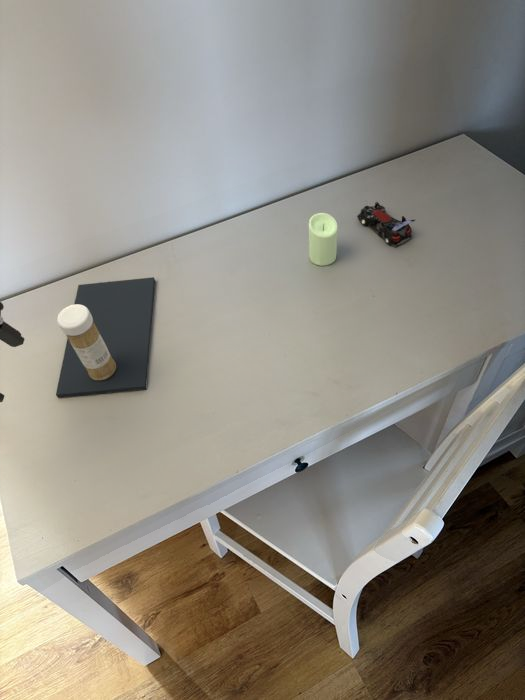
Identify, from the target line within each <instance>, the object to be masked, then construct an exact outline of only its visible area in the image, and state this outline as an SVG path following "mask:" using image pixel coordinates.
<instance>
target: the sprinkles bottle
mask: <svg viewBox="0 0 525 700" xmlns="http://www.w3.org/2000/svg"><path fill="white" fill-rule="evenodd" d="M56 321H57V325H58V327H59V328H60V330H61V333H63V334H65V336H66V338H68V339H69V341H70V343H71V345H72V347H73V348H74V350H75V352H76V353H77V355H78V357H79V358H80V360H81V362H82V363H83V365H84V366H85V368H86V369H87V371H88V374H89V376H90V377H91V378H92V379H94V380H105V379H107V378H109V377H110V376H111V375H113V373H114V372H115V370H116V363H115V361H114V360H113V359H112V357H111V355H110V353H109V351H108V348H107V346H106V344H105V342H104V340H103V338H102V337H101V335H100V333H99V331H98V330H97V328H96V326H95V324H94V322H93V318H92V315H91V313H90V312H89V310H88V309H87V307H85V306H83V305H80V304H75V303H74V304H71V305H67V306H66V307H64V308H62V309H61V310H60V312H59V313H58V315H57V318H56Z"/></svg>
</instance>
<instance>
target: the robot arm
mask: <svg viewBox="0 0 525 700" xmlns="http://www.w3.org/2000/svg"><path fill="white" fill-rule="evenodd" d="M4 306H5V305H4V304H3V303H2V301H0V341H2V342H3V343H5V344H6V345H8V346H10V347H12V348H17V347H19V346H23V344H24V342H25V337H24V336H22V333H21V332H20V330H18V329H16V328H15V327H13V326H11V325H10V324H9V323H7V322H6V321H4V318H3V316H2V311H3V310H4ZM4 399H5V394H3V393H2V392H0V403H3V401H4Z"/></svg>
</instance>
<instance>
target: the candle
mask: <svg viewBox="0 0 525 700" xmlns="http://www.w3.org/2000/svg"><path fill="white" fill-rule="evenodd" d="M338 228H339V226H338V222H337V221H336V218H334V217H333V216H332V215H331V214H328V213H326V212H318V213H315V214H313V215H312V216H311V217H310V218H309V220H308V259H309V260H310V262H311V263H313V264H314V265H316V266H323V267H324V266H328V265H329V266H330V265H331V264H333V263H334V262H335V261H336V260H337V252H338Z"/></svg>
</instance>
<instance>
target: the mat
mask: <svg viewBox="0 0 525 700" xmlns="http://www.w3.org/2000/svg"><path fill="white" fill-rule="evenodd" d="M77 285H78V286H77V291H76V296H75V300H74V304H80V305H83V306H85V307H87V309H88V310H89V312H90V313H91V315H92V318H93V322H94V324H95V326H96V328H97V330H98V331H99V333H100V335H101V337H102V338H103V340H104V342H105V344H106V346H107V348H108V351H109V353H110V355H111V357H112V359H113V360H114V361H115V363H116V370H115V372H114V373H113V375H111V376H110V377H109V378H107V379H105V380H94V379H92V378H91V377H90V376H89V374H88V371H87V369H86V368H85V366H84V365H83V363H82V362H81V360H80V358H79V357H78V355H77V353H76V352H75V350H74V348H73V347H72V345H71V343H70V341H69V339H68V337H66V338H67V339H66V344H65V348H64V352H63V353H64V354H63V358H62V364H61V368H60V373H59V378H58V382H57V387H56V392H55V396H56V397H57V398H58V399H63V398H73V397H74V398H75V397H83V396H84V397H85V396H94V395H105V394H114V393H115V394H117V393H125V392H136V391H144V390H145V391H147V384H148V372H149V360H150V347H151V339H152V336H151V335H152V325H153V314H154V313H153V312H154V299H155V290H156V288H155V287H156V279H155V277H154V276H152V277H143V278H132V279H122V280H112V281H101V282H93V283H85V284H84V283H83V284H77Z"/></svg>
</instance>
